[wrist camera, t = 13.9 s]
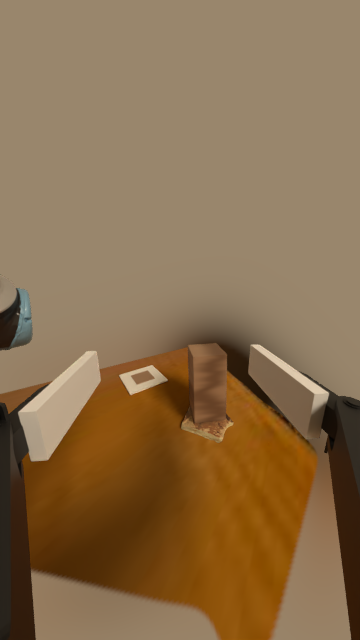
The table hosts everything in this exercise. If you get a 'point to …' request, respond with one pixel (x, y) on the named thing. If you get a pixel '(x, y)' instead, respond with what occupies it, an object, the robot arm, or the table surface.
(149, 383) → the swatch
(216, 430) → the shard
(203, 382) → the walnut block
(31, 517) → the table surface
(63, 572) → the table surface
